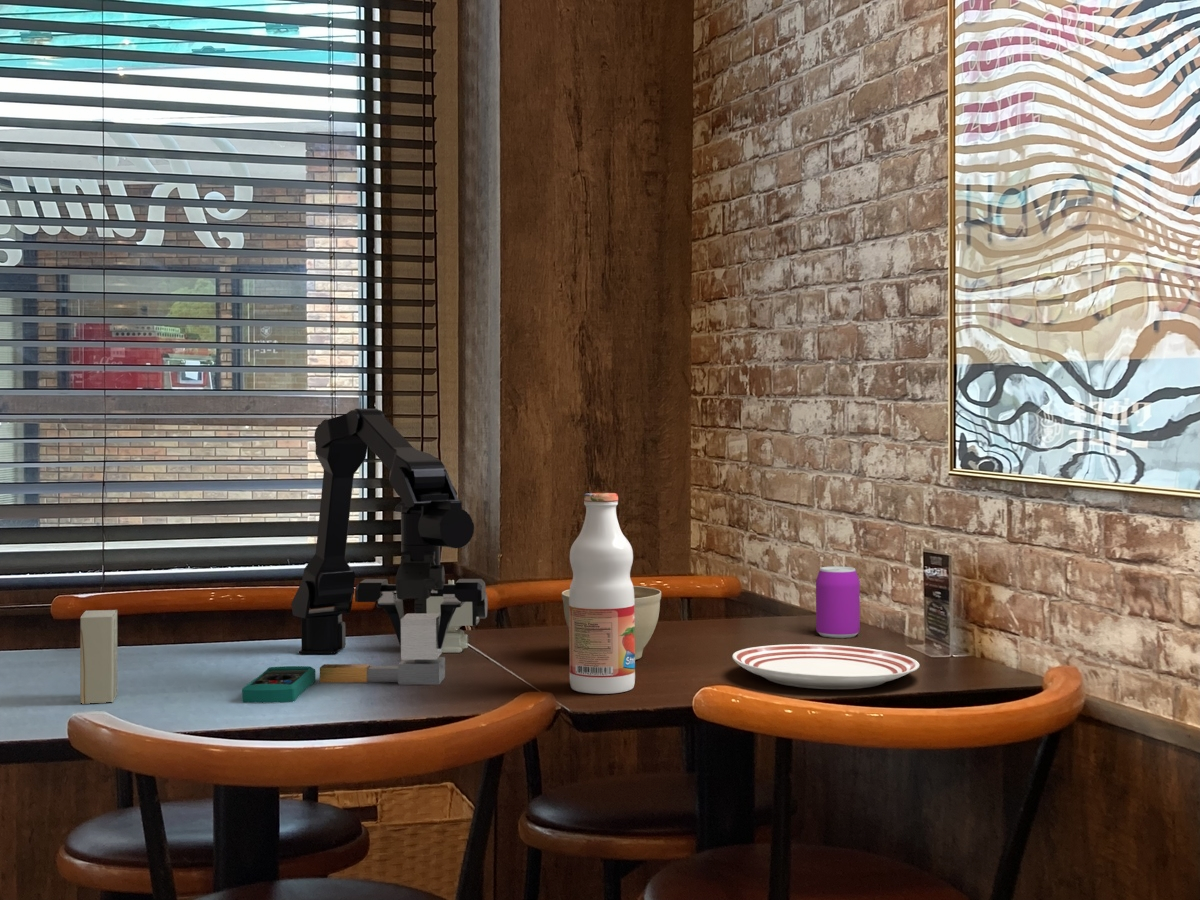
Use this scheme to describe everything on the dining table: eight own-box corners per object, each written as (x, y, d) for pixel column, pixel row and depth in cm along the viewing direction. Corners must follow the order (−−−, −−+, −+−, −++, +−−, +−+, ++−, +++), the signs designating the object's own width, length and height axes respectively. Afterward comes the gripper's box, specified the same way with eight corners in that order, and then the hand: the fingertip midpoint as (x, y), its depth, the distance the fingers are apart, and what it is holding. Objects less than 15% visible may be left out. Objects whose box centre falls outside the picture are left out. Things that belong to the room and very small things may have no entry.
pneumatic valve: (485, 653, 214) (484, 581, 214) (414, 654, 214) (414, 582, 214) (488, 648, 219) (488, 577, 219) (420, 648, 220) (419, 578, 219)
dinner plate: (853, 656, 210) (853, 636, 210) (958, 688, 184) (958, 665, 184) (701, 669, 200) (701, 648, 200) (789, 704, 174) (789, 680, 174)
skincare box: (85, 696, 182) (84, 610, 182) (119, 694, 183) (118, 609, 183) (79, 705, 176) (78, 616, 176) (114, 703, 177) (113, 615, 177)
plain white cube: (401, 659, 189) (400, 618, 189) (407, 653, 194) (406, 613, 194) (436, 659, 189) (436, 618, 189) (441, 653, 194) (441, 613, 194)
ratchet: (316, 684, 189) (316, 647, 189) (326, 676, 195) (326, 640, 195) (439, 684, 189) (438, 647, 188) (445, 676, 195) (444, 640, 194)
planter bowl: (547, 654, 213) (547, 588, 213) (636, 646, 220) (635, 583, 219) (585, 671, 198) (584, 600, 198) (678, 662, 205) (678, 594, 205)
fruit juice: (562, 684, 188) (561, 492, 188) (624, 680, 191) (622, 491, 190) (579, 697, 179) (577, 495, 179) (643, 692, 182) (642, 494, 181)
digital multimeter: (240, 706, 177) (239, 685, 177) (267, 684, 192) (267, 665, 192) (293, 706, 177) (293, 685, 177) (316, 684, 192) (316, 664, 192)
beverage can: (810, 632, 233) (809, 566, 233) (850, 631, 234) (850, 565, 234) (825, 639, 225) (824, 571, 225) (866, 638, 227) (866, 570, 227)
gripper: (346, 549, 183) (347, 658, 184) (476, 548, 183) (477, 658, 183) (362, 541, 195) (363, 644, 195) (485, 541, 194) (486, 644, 194)
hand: (421, 648), depth 192 cm, fingers closed on plain white cube, 5 cm apart
